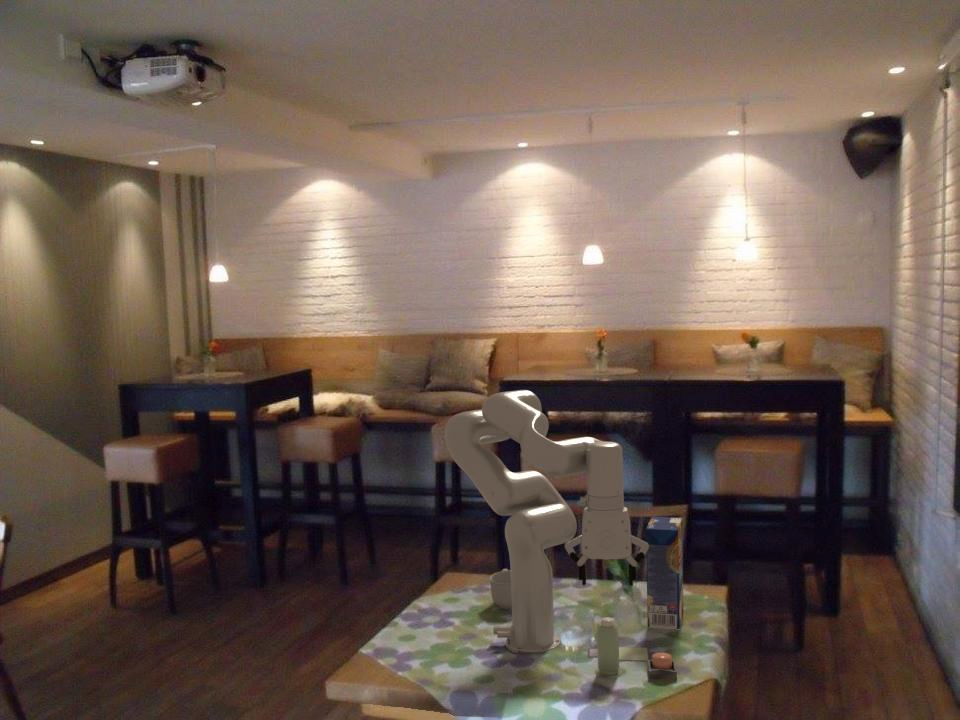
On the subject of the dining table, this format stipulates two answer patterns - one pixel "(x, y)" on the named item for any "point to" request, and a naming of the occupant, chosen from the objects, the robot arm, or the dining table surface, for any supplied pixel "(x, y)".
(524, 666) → the dining table surface
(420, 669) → the dining table surface
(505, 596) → the teacup
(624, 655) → the colouring board
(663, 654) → the button
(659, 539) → the juice carton
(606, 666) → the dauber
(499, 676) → the dining table surface
